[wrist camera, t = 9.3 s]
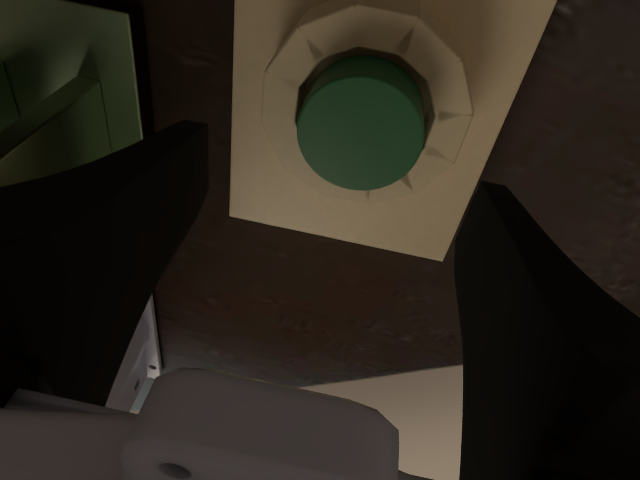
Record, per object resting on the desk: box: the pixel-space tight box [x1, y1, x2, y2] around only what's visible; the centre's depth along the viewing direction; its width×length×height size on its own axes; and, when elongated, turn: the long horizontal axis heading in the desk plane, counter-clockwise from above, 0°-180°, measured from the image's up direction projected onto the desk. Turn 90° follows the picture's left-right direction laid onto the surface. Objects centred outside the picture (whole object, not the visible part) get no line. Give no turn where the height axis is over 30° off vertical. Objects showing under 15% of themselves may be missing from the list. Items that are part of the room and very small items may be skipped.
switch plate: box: [229, 0, 557, 261], centre depth 18 cm, size 12×10×4 cm
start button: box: [297, 55, 425, 191], centre depth 16 cm, size 4×4×2 cm
